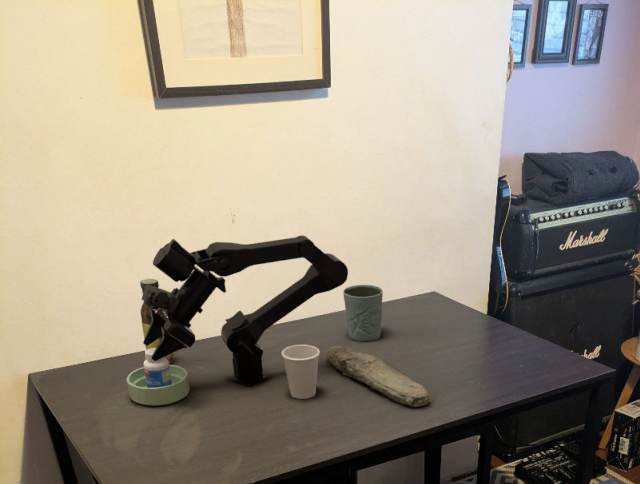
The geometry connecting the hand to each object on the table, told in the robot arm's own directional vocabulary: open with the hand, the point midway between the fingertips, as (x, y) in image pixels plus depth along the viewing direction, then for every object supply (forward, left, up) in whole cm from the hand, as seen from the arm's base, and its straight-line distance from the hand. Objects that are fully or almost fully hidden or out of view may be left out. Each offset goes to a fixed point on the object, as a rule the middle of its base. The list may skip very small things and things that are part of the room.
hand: (148, 352), depth 167 cm
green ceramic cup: (-14, -57, -10) cm, 59 cm away
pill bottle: (0, -1, -10) cm, 10 cm away
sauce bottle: (+14, -13, -10) cm, 21 cm away
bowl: (0, -1, -10) cm, 10 cm away
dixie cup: (-25, -21, -10) cm, 34 cm away
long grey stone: (-34, -36, -10) cm, 51 cm away
